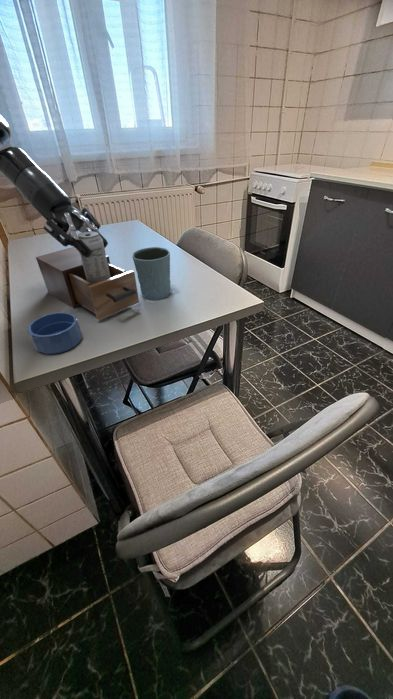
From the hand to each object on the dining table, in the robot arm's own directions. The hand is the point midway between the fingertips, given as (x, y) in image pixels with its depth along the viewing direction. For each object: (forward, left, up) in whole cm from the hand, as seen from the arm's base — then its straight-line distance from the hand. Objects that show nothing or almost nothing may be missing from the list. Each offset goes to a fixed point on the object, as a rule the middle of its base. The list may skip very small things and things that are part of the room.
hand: (97, 250), depth 72 cm
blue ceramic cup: (+13, -4, -16) cm, 21 cm away
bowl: (-18, -6, -15) cm, 24 cm away
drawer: (-1, 0, -15) cm, 15 cm away
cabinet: (-1, +14, -15) cm, 21 cm away
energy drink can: (-1, +2, -11) cm, 12 cm away
